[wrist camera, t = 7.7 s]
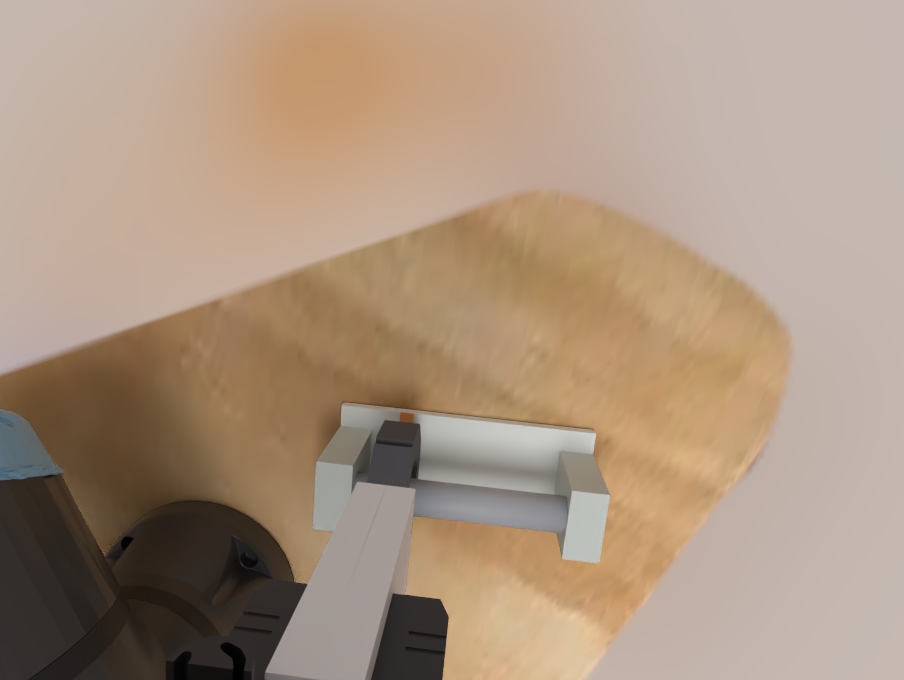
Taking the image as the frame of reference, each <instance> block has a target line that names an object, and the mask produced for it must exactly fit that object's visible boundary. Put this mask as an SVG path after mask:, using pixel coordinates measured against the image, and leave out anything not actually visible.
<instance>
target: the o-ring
mask: <svg viewBox="0 0 904 680" xmlns="http://www.w3.org/2000/svg"><path fill="white" fill-rule="evenodd" d="M420 446H421V430H420V424H417V423H408V422H399V421H390V420H384V422H383V424H382V426H381V428H380V430H379V432H378V434H377V436H376V444H375V443H374V448H373V453H372V458H371V463H370V469H369V474H368V479H367V483H372V484H380V485H388V486H397V487H405V488H409V487H410V480H411V478H413V479H418V473H419V462H420V451H421V448H420Z"/></svg>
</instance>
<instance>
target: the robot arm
mask: <svg viewBox="0 0 904 680" xmlns="http://www.w3.org/2000/svg"><path fill="white" fill-rule="evenodd" d="M61 474H63V471H62V468H61V466H59V465H55V463H54V462H53V460H52V458H51V457H50V455H49V454H48V452H47V450H46V449H45V447H44V446H43V444H42V442H41V441H40V439H39V438H38V436H37V434H36V433H35V431H34V430H33V428H32V426H31V425H30V423H29V422H28V421H27V420H26V419H25V418H23V417H22V416H20V415H19V414H17V413H15V412H12V411H8V410H4V409H0V680H442V677H443V667H444V657H445V647H446V638H447V628H448V618H449V617H448V615H447V613H446V610H445V608H444V606H443V604H442V602H441V600H440V599H433V598H425V597H418V596H410V595H404V594H405V589H406V585H407V576H408V565H409V555H410V544H411V534H412V523H413V513H414V502H415V491H416V489H413V488H405V487H397V486H388V485H380V484H372V483H364V482H357V484H356V486H355V488H354V490H353V492H352V494H351V496H350V498H349V500H348V502H347V504H346V507H345V509H344V511H343V513H342V515H341V517H340V519H339V521H338V523H337V525H336V527H335V529H334V531H333V533H332V535H331V537H330V539H329V542H328V544H327V546H326V548H325V550H324V552H323V554H322V556H321V558H320V560H319V562H318V564H317V566H316V568H315V570H314V572H313V574H312V577H311V579H310V581H309V583H308V584H303V583H295V582H294V581H293V576H292V572H291V569H290V566H289V564H288V562H287V559H286V557H285V555H284V554H283V552H282V550H281V549H280V547H279V546H278V544H277V543H276V542H275V541H274V539H273V538H272V537H271V536H270V535H269V534H268V533H267V532H266V531H265V530H264V529H263V528H262V527H261V526H260V525H258V524H257V523H256V522H254V521H253V520H251V519H250V518H248V517H247V516H245V515H243V514H241V513H239V512H237V511H235V510H233V509H230V508H228V507H225V506H222V505H218V504H214V503H208V502H199V501H187V502H177V503H173V504H168V505H165V506H162V507H160V508H157V509H155V510H153V511H151V512H149V513H147V514H146V515H144V516H143V517H142V518H140V519H139V520H138V521H137V522H136V523H134V524H133V525H132V526H131V527H130V528H129V529H128V530H127V531H126V532H124V533H123V534H122V535H121V536H120V537H119V538H118V540H117V541H116V542H115V543H114V544H113V546H112V547H111V549H110V550H109V552H108V553H107V555H106V557H104V555H103V553H102V552H101V550H100V548H99V546H98V544H97V542H96V540H95V538H94V537H93V535H92V533H91V531H90V529H89V527H88V525H87V524H86V522H85V520H84V518H83V516H82V514H81V512H80V510H79V509H78V507H77V505H76V503H75V501H74V499H73V497H72V495H71V493H70V491H69V489H68V487H67V485H66V483H65V481H64V479H63V477H62V475H61Z"/></svg>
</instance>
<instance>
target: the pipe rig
mask: <svg viewBox="0 0 904 680" xmlns="http://www.w3.org/2000/svg"><path fill="white" fill-rule="evenodd" d="M384 420H390V421H399V422H408V423H417V424H420V430H421V446H420V448H421V451H420V462H419V473H418V479H413V478H411V480H410V487H409V488H413V489H416V491H415V502H414V513H413V516H418V517H427V518H435V519H444V520H452V521H461V522H469V523H478V524H486V525H495V526H503V527H512V528H520V529H529V530H537V531H546V532H554V533H557V538H558V542H559V547H560V552H561V557H562V559H567V560H575V561H584V562H592V563H599V560H600V554H601V548H602V542H603V536H604V530H605V524H606V518H607V512H608V506H609V499H610V494H609V491H608V489H607V486H606V484H605V482H604V479H603V477H602V475H601V472H600V470H599V467H598V465H597V463H596V460H595V458H594V455H593V451H594V444H595V438H596V432H595V430H591V429H582V428H573V427H564V426H555V425H546V424H537V423H528V422H519V421H510V420H501V419H492V418H483V417H474V416H465V415H456V414H446V413H437V412H428V411H419V410H410V409H401V408H392V407H383V406H374V405H365V404H356V403H347V402H344V403H343V404H342V409H341V426H340V427H339V429H338V430H337V432H336V433H335V435H334V436H333V438H332V439H331V441H330V442H329V443H328V445H327V446H326V448H325V449H324V451H323V452H322V454H321V455H320V457H319V458H318V460H317V461H316V474H315V494H314V513H313V529H315V530H323V531H331V532H333V531H334V529H335V527H336V525H337V523H338V521H339V519H340V517H341V515H342V513H343V511H344V509H345V507H346V504H347V502H348V500H349V498H350V496H351V494H352V492H353V490H354V488H355V486H356V484H357V482H364V483H367V479H368V474H369V469H370V463H371V458H372V453H373V448H374V443H375V444H376V436H377V434H378V432H379V430H380V428H381V426H382V424H383V422H384Z"/></svg>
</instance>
